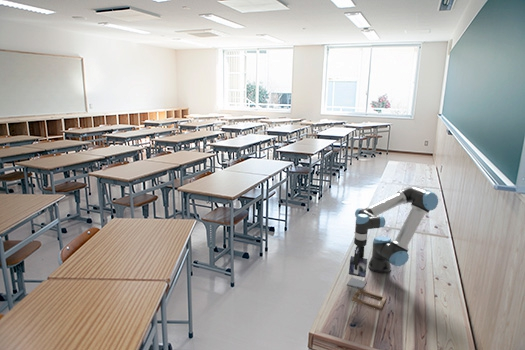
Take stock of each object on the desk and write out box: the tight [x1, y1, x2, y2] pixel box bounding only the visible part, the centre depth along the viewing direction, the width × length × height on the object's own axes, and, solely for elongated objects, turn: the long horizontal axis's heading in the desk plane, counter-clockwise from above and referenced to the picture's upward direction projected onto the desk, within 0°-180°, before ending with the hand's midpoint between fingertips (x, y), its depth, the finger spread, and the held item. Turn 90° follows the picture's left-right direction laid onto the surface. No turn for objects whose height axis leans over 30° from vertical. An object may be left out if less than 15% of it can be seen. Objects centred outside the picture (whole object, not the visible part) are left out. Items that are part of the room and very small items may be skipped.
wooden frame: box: [351, 288, 387, 312], centre depth 203 cm, size 13×17×2 cm
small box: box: [348, 255, 368, 278], centre depth 218 cm, size 11×6×10 cm, turn 70°
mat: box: [346, 277, 368, 290], centre depth 221 cm, size 10×10×1 cm
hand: (357, 271), depth 219 cm, fingers closed on small box, 7 cm apart
